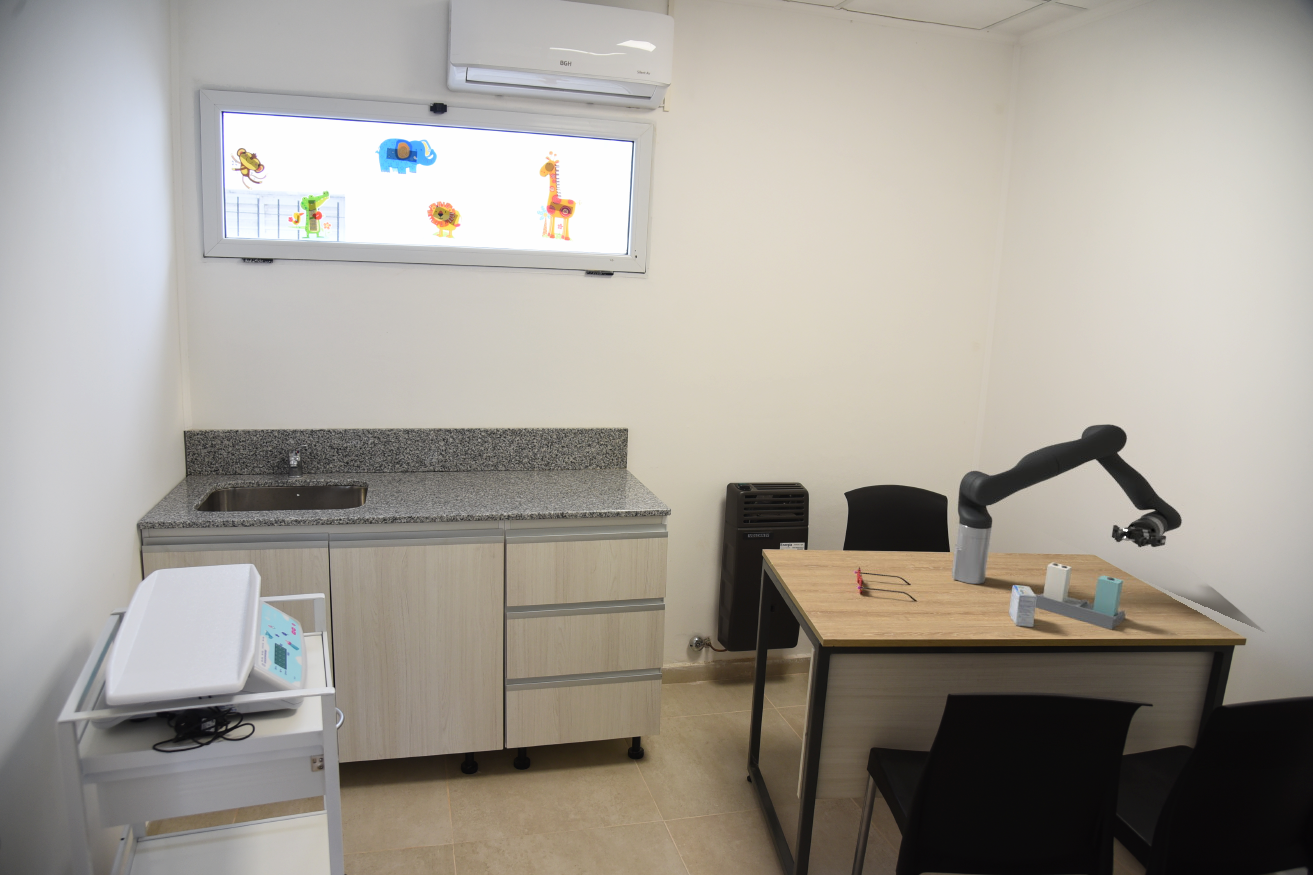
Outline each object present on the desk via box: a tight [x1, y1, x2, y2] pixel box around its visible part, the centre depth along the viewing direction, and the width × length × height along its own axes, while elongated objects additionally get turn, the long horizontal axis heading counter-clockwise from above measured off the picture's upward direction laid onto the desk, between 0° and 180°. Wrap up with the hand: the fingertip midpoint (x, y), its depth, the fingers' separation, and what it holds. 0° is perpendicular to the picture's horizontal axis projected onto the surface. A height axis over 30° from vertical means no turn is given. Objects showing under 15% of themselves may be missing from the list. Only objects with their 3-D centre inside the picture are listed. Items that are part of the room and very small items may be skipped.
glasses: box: [854, 566, 918, 603], centre depth 231 cm, size 14×16×5 cm
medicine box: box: [1008, 584, 1037, 628], centre depth 212 cm, size 8×4×9 cm, turn 168°
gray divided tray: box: [1034, 592, 1127, 631], centre depth 220 cm, size 12×20×4 cm, turn 45°
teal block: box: [1093, 574, 1124, 617], centre depth 215 cm, size 4×5×10 cm
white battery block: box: [1043, 562, 1072, 602], centre depth 224 cm, size 4×5×10 cm
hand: (1128, 540), depth 221 cm, fingers open, 5 cm apart
